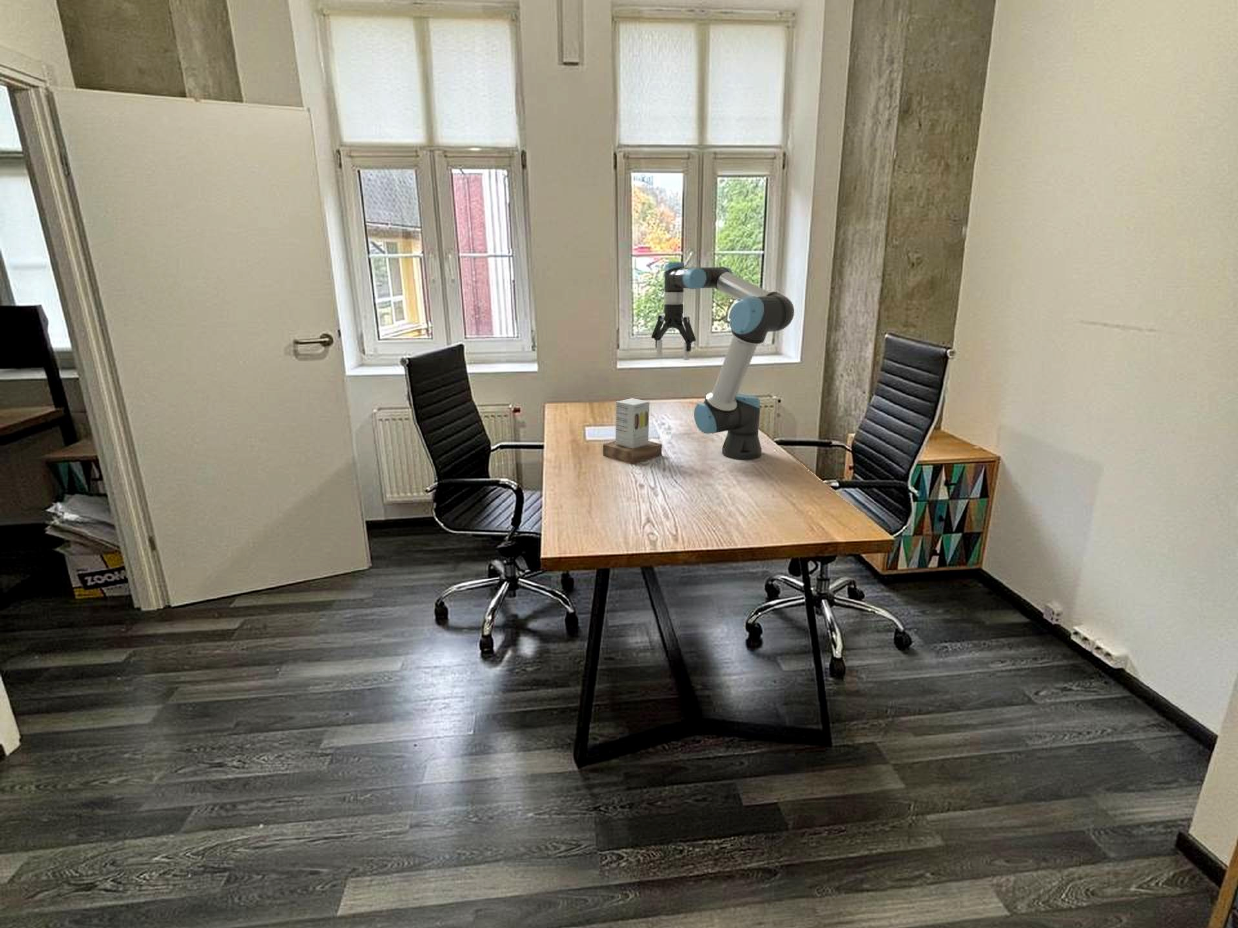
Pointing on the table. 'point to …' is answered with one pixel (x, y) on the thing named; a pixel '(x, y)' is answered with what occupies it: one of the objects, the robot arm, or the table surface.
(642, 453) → the walnut block
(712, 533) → the table surface
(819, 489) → the table surface
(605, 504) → the table surface
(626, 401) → the supplement box
